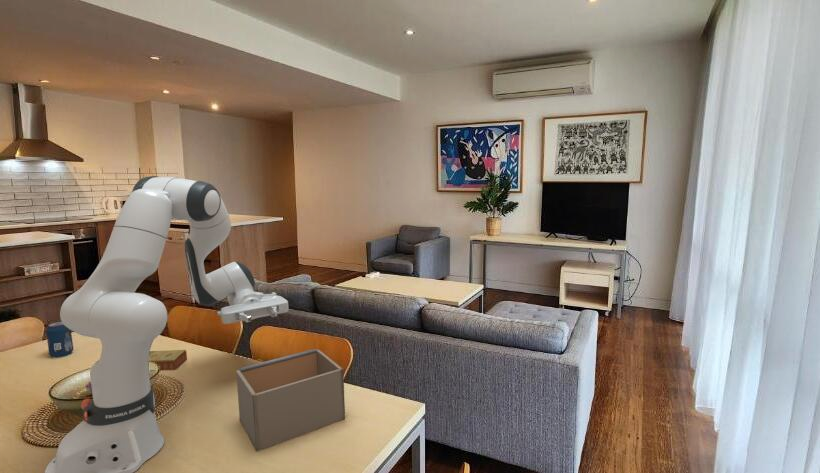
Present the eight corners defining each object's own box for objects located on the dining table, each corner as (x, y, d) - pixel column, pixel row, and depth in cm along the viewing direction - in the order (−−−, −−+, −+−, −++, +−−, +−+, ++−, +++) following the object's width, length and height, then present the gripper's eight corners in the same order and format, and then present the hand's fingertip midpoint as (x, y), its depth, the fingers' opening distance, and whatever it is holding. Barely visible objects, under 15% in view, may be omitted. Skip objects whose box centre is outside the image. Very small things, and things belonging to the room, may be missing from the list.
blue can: (53, 352, 158) (49, 322, 156) (76, 349, 161) (72, 319, 159) (46, 360, 152) (42, 328, 150) (70, 356, 155) (66, 324, 153)
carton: (175, 371, 143) (174, 359, 142) (126, 372, 142) (125, 360, 141) (187, 360, 151) (186, 349, 150) (141, 361, 150) (139, 350, 150)
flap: (244, 417, 112) (241, 368, 110) (243, 415, 113) (240, 367, 111) (318, 393, 124) (316, 349, 122) (316, 392, 125) (314, 348, 123)
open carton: (256, 451, 100) (253, 396, 98) (239, 420, 113) (236, 370, 111) (345, 418, 113) (343, 369, 111) (320, 394, 126) (318, 349, 124)
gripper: (214, 302, 133) (224, 313, 122) (279, 291, 145) (293, 300, 133) (216, 321, 134) (226, 334, 123) (280, 309, 146) (294, 320, 134)
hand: (262, 316), depth 128 cm, fingers open, 6 cm apart
